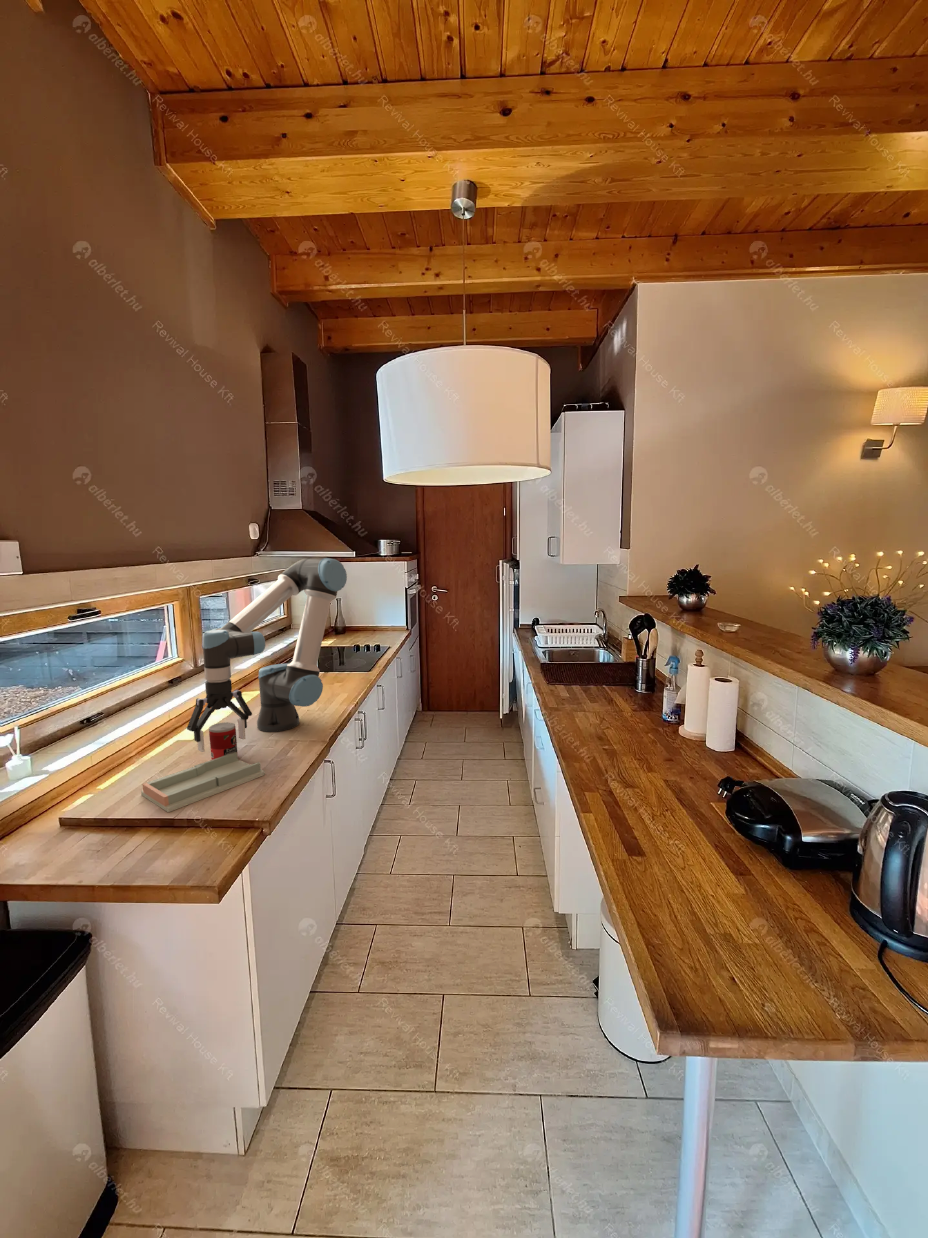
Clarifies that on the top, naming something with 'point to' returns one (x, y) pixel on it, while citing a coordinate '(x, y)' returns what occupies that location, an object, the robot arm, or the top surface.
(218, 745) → the canned food
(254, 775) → the grey miter box
